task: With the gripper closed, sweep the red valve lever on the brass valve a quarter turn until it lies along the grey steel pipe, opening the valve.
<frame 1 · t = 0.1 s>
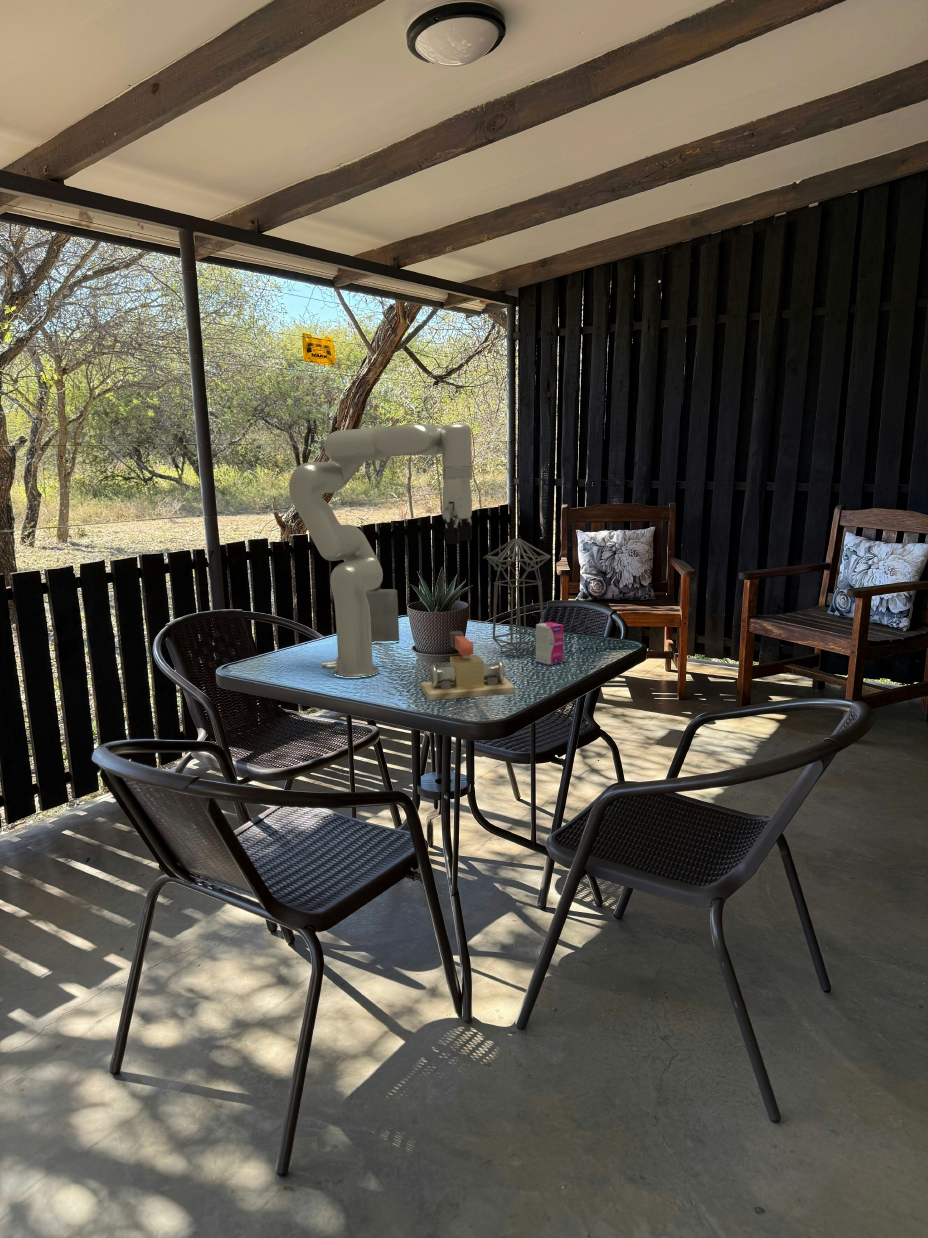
hand: (459, 542, 206), 37 cm above the table, tool pointing down, fingers open, 9 cm apart
supplement box: (549, 663, 231), on the table
pipe valve: (467, 690, 204), resting on mounting board
geometric lantern: (518, 654, 244), on the table
mounting board: (467, 690, 204), on the table
valve lever: (461, 644, 208), point 11 cm above the table, hinge at 0.0°
flask: (376, 643, 266), on the table
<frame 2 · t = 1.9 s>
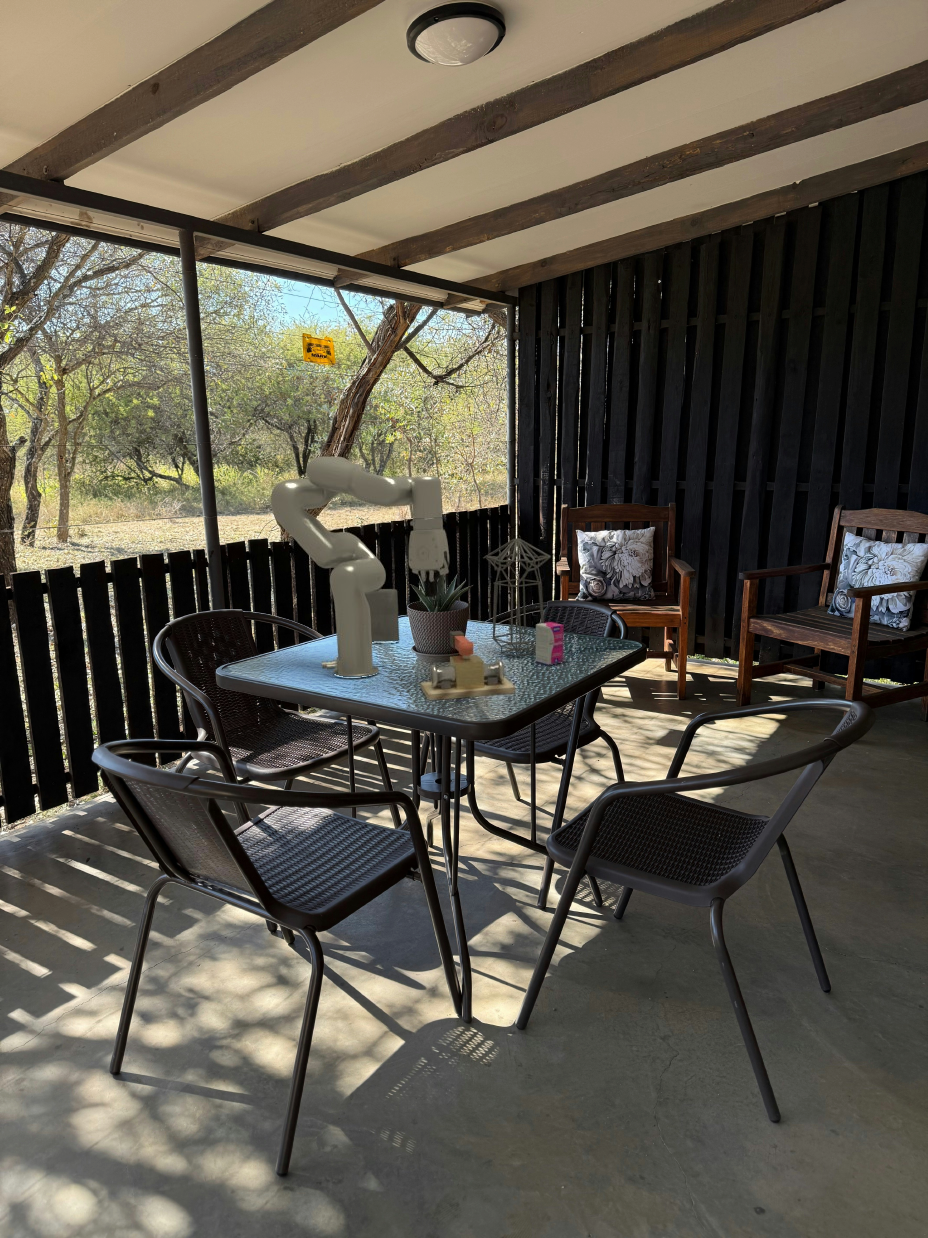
hand: (431, 595, 208), 23 cm above the table, tool pointing down, fingers closed
nothing on the table moved.
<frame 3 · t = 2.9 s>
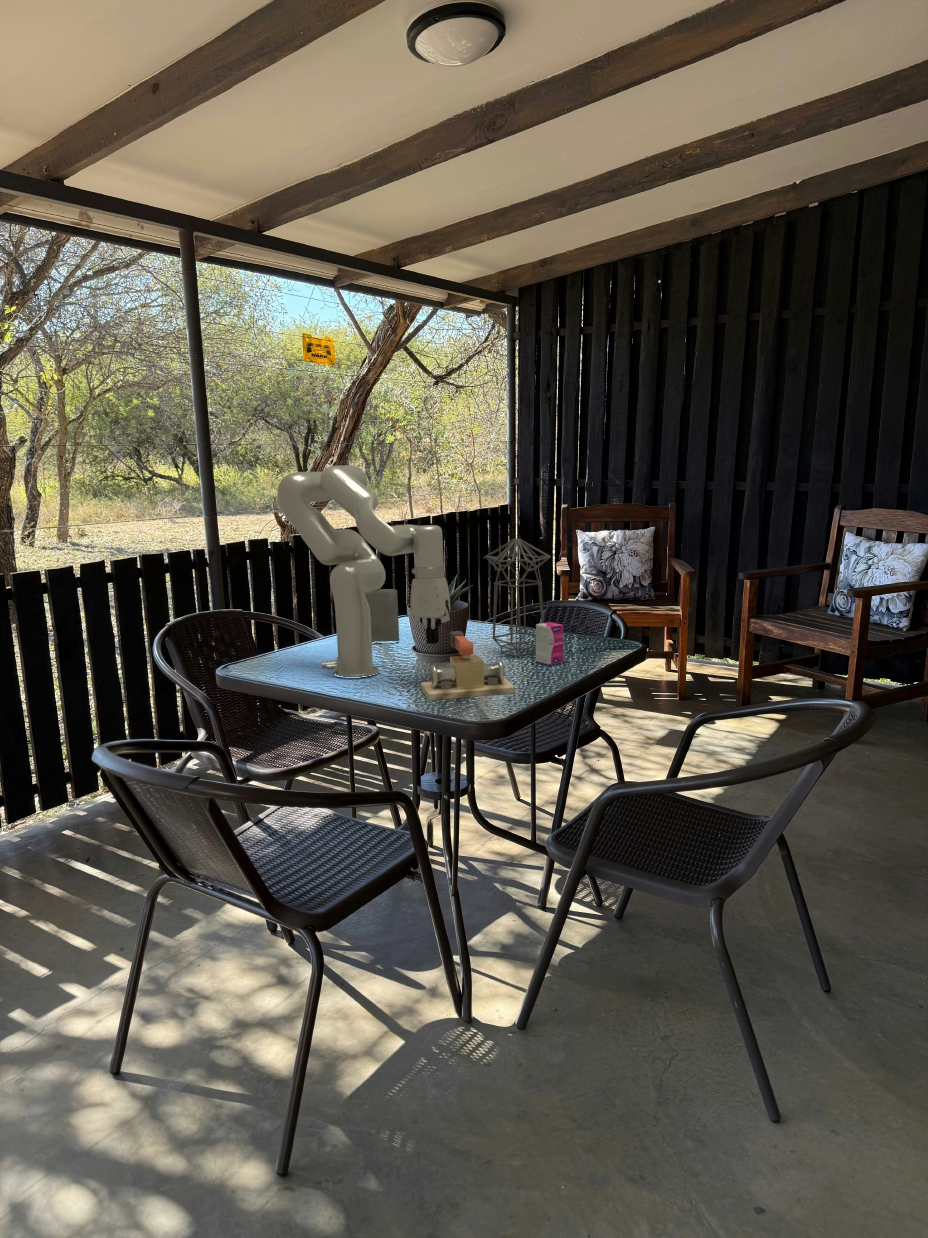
hand: (432, 642, 211), 11 cm above the table, tool pointing down, fingers closed
nothing on the table moved.
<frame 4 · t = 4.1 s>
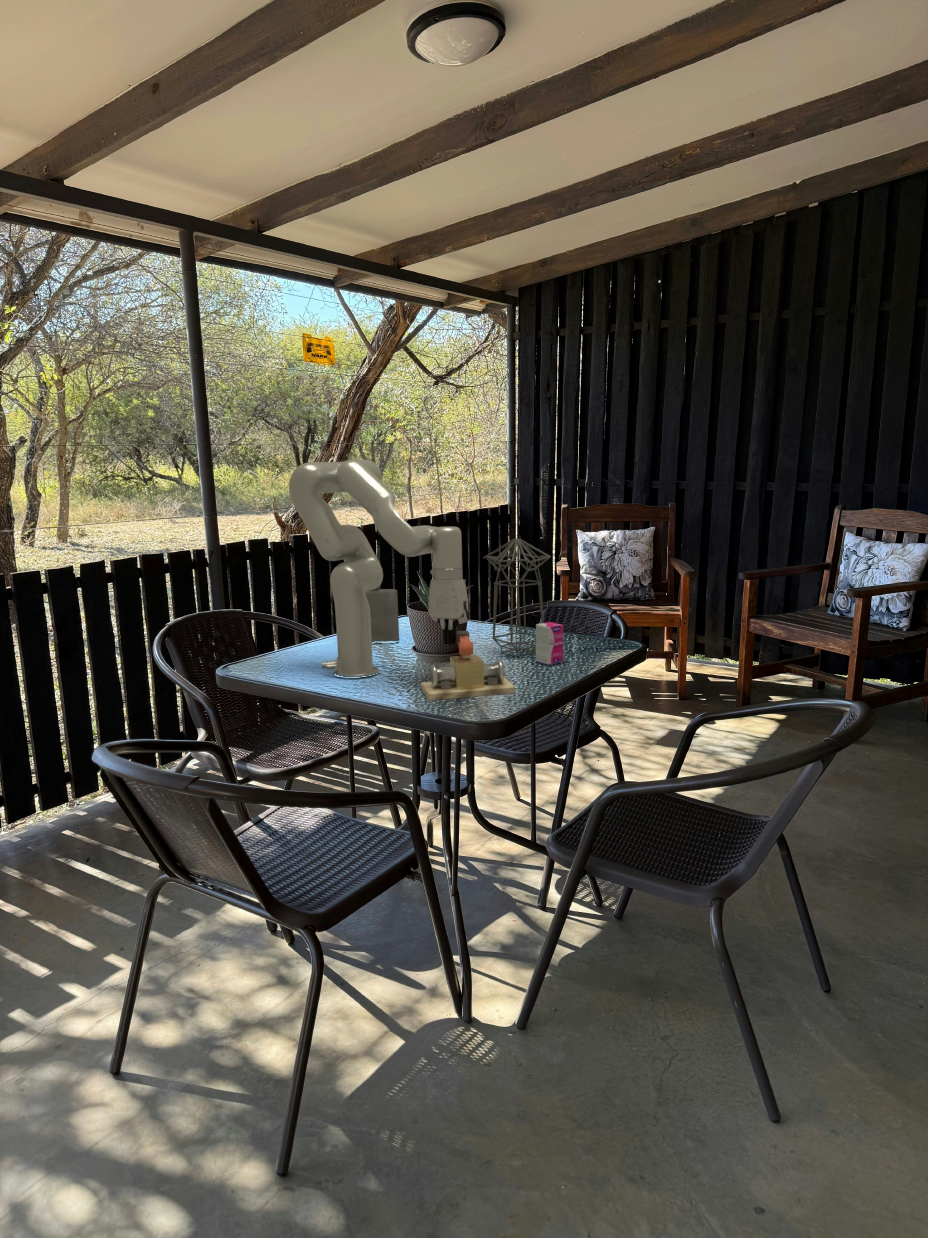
hand: (449, 643, 212), 10 cm above the table, tool pointing down, fingers closed
valve lever: (464, 644, 208), point 11 cm above the table, hinge at 8.1°, touching gripper
everything else where it was.
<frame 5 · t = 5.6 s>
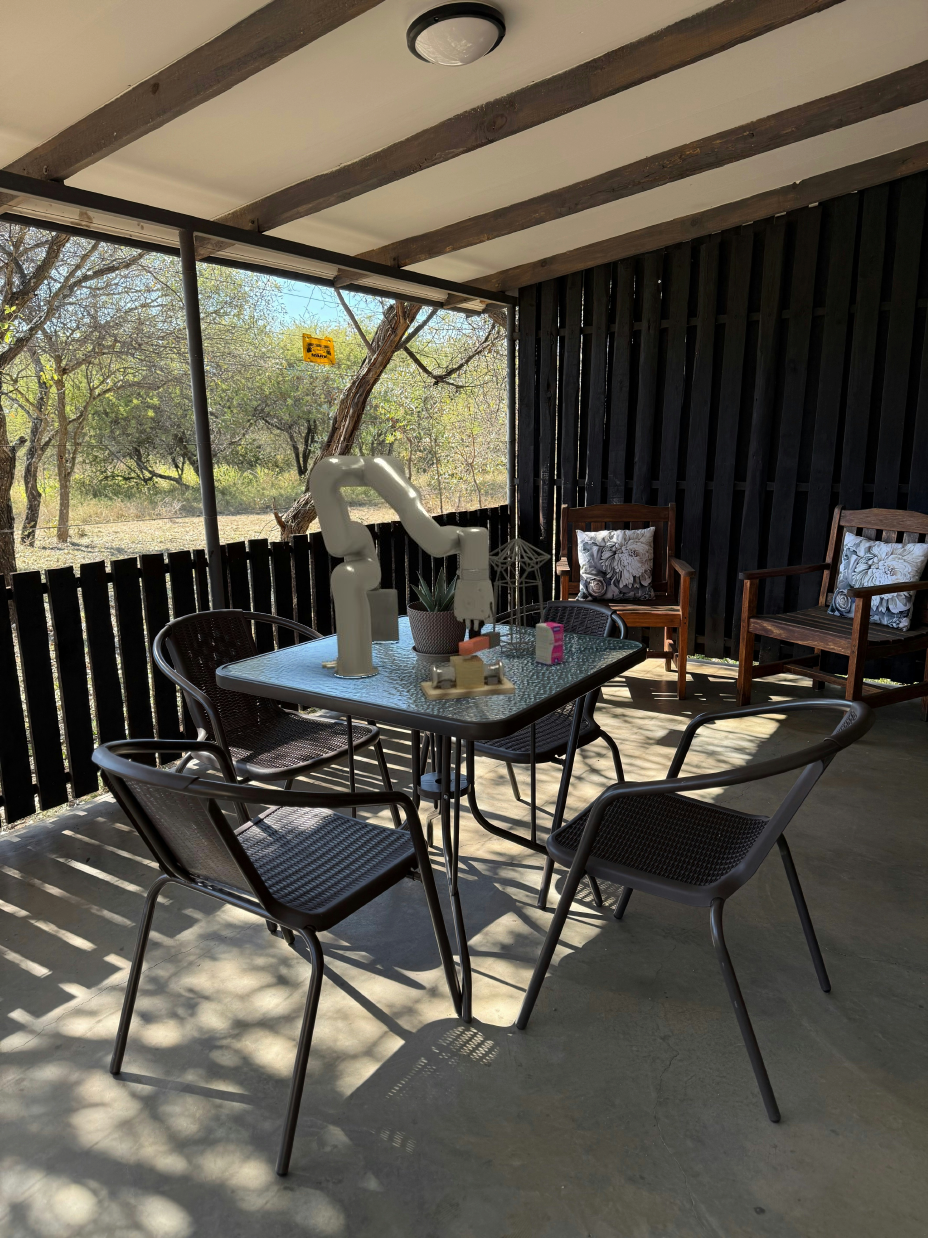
hand: (474, 643, 212), 10 cm above the table, tool pointing down, fingers closed
valve lever: (479, 644, 207), point 11 cm above the table, hinge at 46.1°, touching gripper
everything else where it was.
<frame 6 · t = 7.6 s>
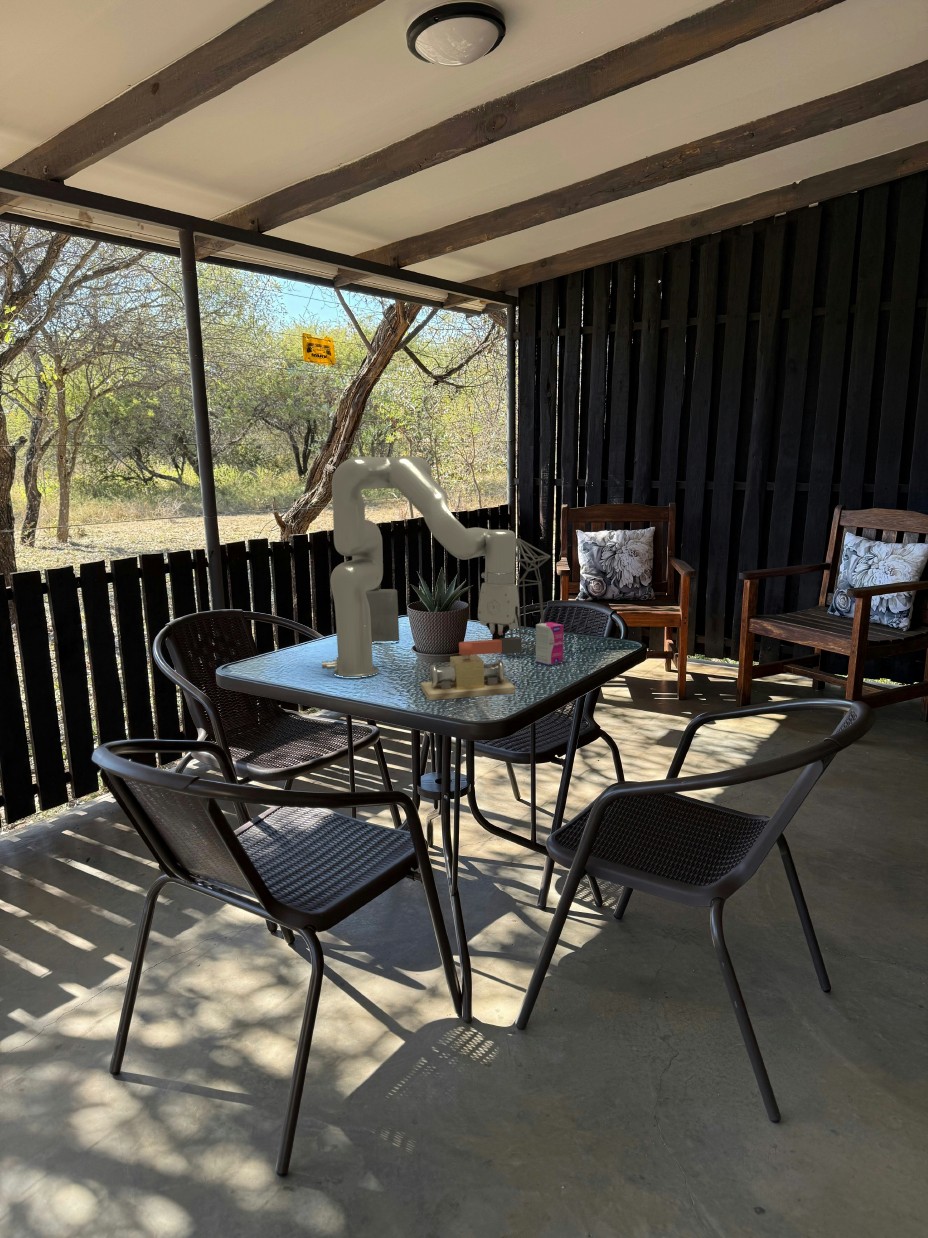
hand: (498, 648, 208), 9 cm above the table, tool pointing down, fingers closed
valve lever: (489, 647, 203), point 11 cm above the table, hinge at 91.2°, touching gripper
everything else where it was.
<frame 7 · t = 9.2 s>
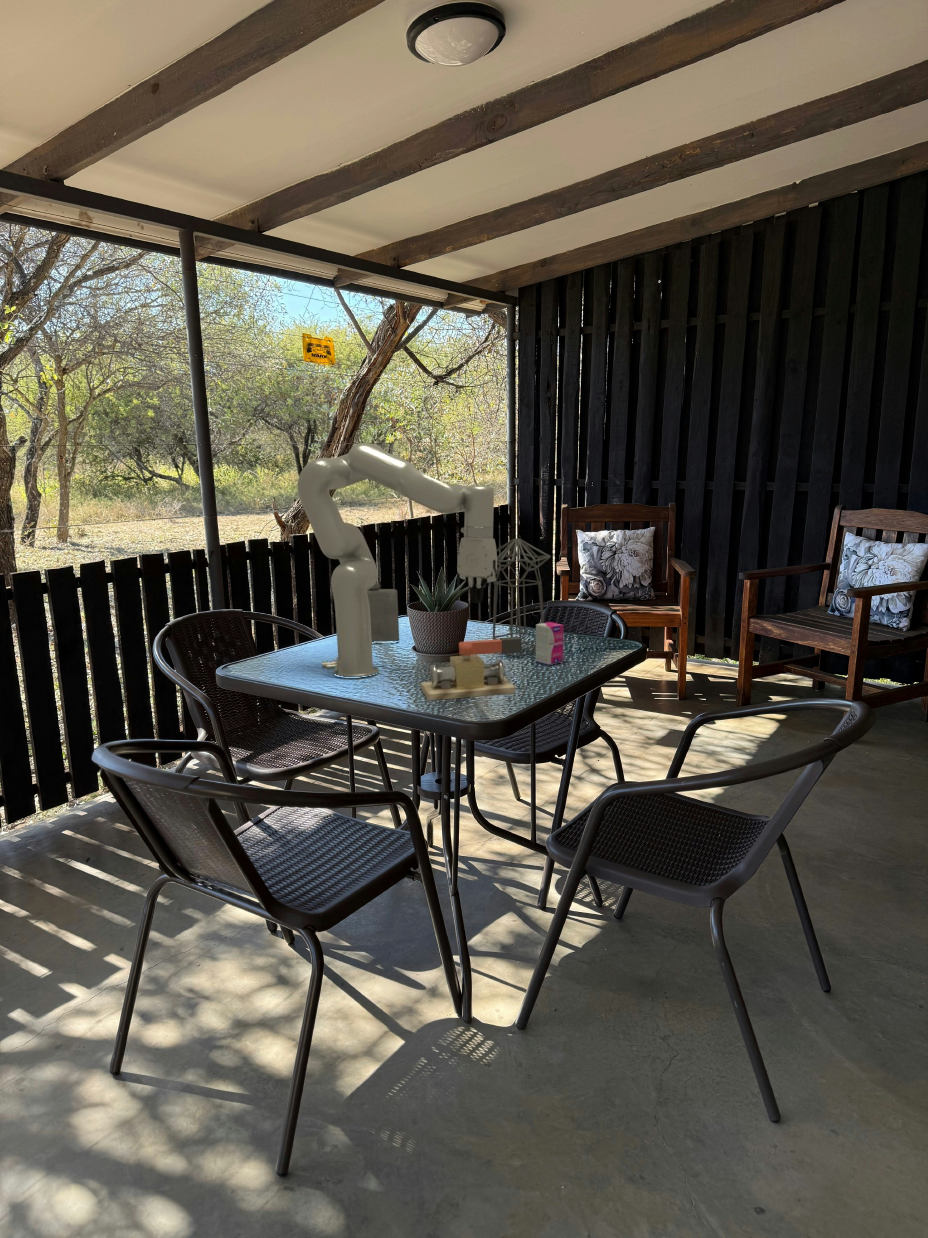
hand: (476, 602, 214), 21 cm above the table, tool pointing down, fingers closed
valve lever: (489, 647, 203), point 11 cm above the table, hinge at 91.5°
everything else where it was.
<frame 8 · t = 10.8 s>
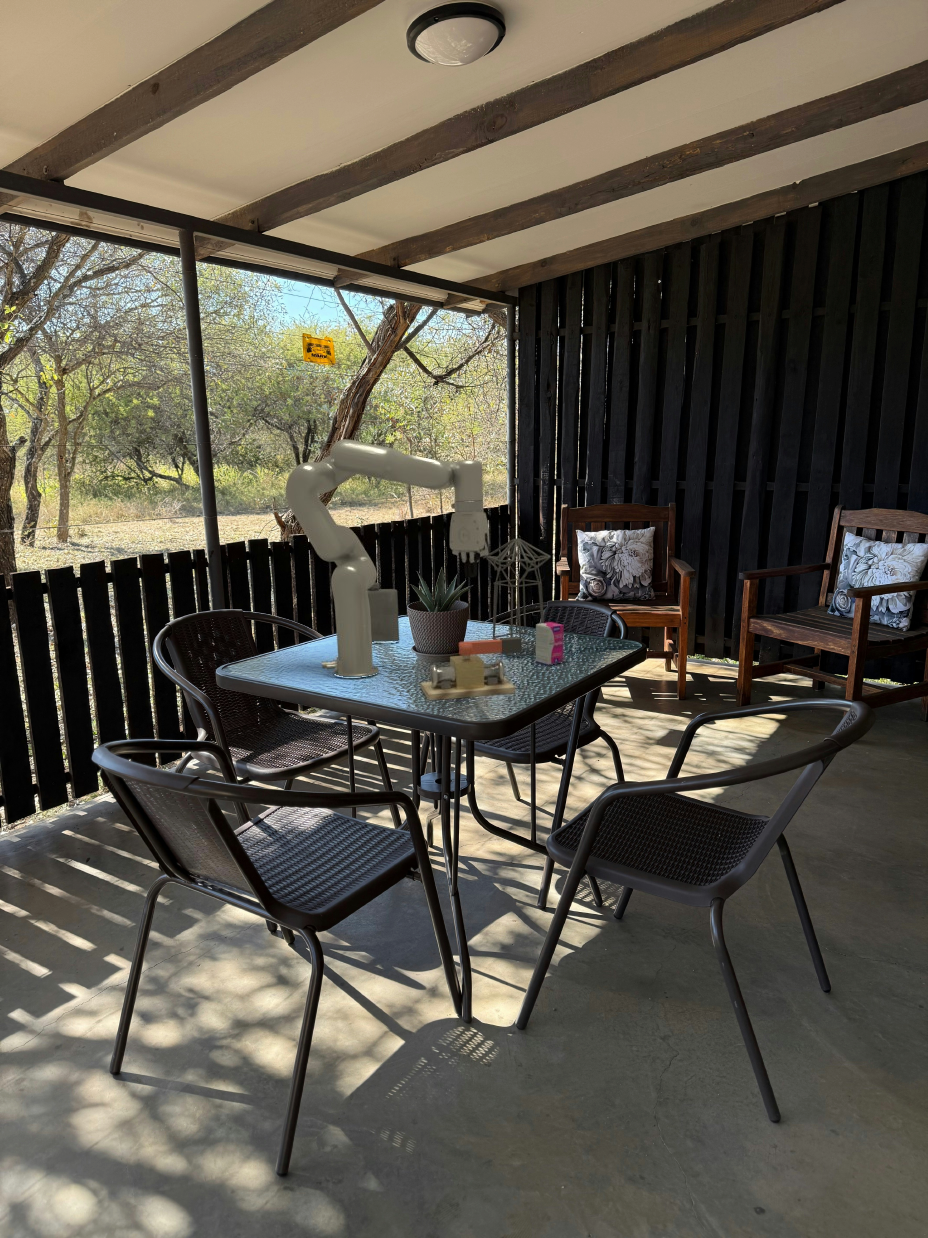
hand: (470, 576, 215), 27 cm above the table, tool pointing down, fingers closed
nothing on the table moved.
at the end: valve lever at +92° (first picture: +0°) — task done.
